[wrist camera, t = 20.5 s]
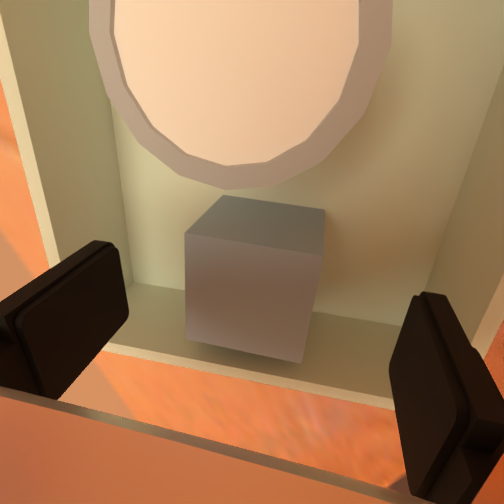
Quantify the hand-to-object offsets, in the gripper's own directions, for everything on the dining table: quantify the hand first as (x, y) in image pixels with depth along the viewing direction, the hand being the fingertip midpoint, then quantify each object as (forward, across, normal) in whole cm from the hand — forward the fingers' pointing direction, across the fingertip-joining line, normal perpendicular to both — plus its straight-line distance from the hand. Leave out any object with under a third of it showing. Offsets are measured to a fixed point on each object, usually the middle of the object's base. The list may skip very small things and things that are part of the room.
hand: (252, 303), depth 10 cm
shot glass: (+7, +1, -7) cm, 10 cm away
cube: (+7, +1, +2) cm, 7 cm away
